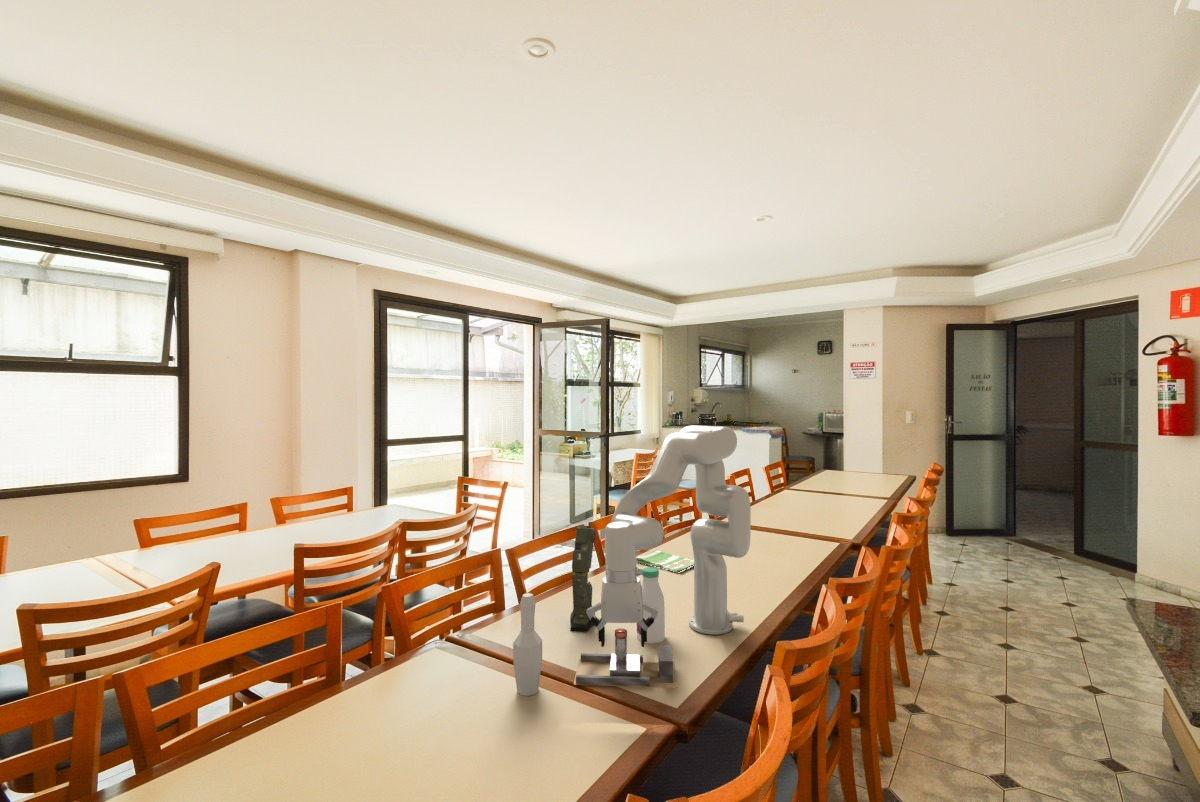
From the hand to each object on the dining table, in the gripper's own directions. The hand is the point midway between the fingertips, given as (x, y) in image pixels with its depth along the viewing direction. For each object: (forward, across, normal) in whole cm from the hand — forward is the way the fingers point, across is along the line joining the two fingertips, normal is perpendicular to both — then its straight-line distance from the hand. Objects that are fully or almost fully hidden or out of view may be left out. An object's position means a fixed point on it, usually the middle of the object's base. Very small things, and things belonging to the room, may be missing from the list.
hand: (622, 644), depth 128 cm
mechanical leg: (+8, +13, -30) cm, 34 cm away
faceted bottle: (+7, +22, +8) cm, 24 cm away
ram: (+6, 0, +1) cm, 6 cm away
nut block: (+7, -6, +1) cm, 9 cm away
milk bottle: (+9, -7, -19) cm, 22 cm away
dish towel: (+11, -16, -92) cm, 94 cm away
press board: (+8, -1, +1) cm, 8 cm away
